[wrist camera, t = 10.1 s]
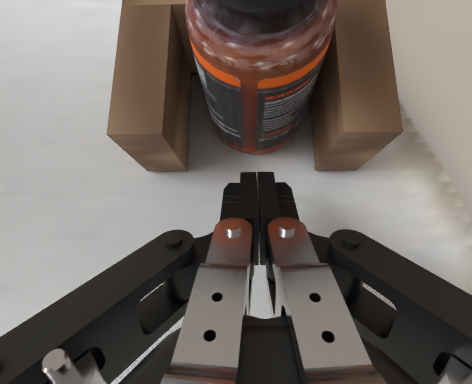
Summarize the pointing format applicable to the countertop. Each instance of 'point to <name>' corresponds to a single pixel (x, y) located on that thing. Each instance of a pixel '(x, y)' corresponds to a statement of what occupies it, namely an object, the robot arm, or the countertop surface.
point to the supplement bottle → (259, 64)
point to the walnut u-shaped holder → (183, 65)
